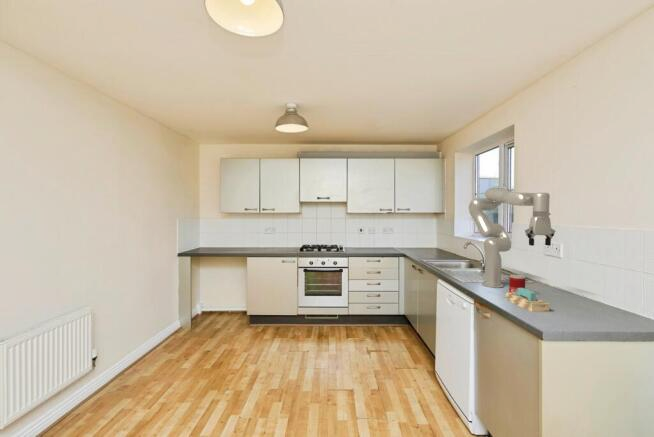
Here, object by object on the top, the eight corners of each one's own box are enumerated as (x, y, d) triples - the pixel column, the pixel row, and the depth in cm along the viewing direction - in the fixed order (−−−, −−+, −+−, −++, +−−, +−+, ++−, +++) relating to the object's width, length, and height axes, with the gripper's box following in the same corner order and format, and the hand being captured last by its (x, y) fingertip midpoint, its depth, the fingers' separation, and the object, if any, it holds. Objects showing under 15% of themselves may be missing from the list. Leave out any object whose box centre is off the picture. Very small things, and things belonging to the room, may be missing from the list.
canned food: (527, 296, 181) (527, 277, 180) (511, 295, 183) (512, 277, 182) (521, 293, 188) (522, 275, 188) (507, 292, 190) (507, 274, 190)
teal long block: (517, 300, 170) (517, 287, 169) (522, 300, 170) (522, 287, 170) (530, 306, 160) (530, 293, 160) (535, 306, 160) (536, 292, 160)
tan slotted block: (505, 299, 175) (506, 292, 174) (521, 299, 175) (521, 292, 175) (531, 311, 155) (532, 303, 154) (549, 311, 155) (549, 303, 155)
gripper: (550, 214, 179) (549, 244, 180) (521, 214, 178) (520, 244, 179) (560, 215, 172) (559, 246, 173) (530, 215, 171) (529, 246, 171)
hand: (539, 245), depth 176 cm, fingers open, 9 cm apart
